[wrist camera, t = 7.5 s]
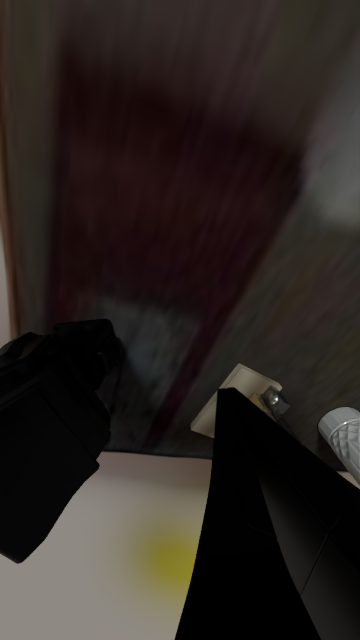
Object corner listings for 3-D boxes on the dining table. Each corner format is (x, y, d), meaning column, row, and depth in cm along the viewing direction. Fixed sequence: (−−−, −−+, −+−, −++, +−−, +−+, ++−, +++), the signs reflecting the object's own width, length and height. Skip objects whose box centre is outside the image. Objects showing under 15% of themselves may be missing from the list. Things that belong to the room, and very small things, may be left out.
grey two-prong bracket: (220, 438, 27) (234, 490, 21) (268, 384, 24) (302, 428, 18) (229, 441, 28) (245, 494, 22) (278, 388, 24) (314, 433, 18)
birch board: (190, 424, 27) (191, 430, 26) (238, 363, 24) (241, 367, 23) (227, 437, 29) (229, 443, 28) (278, 382, 25) (282, 387, 24)
